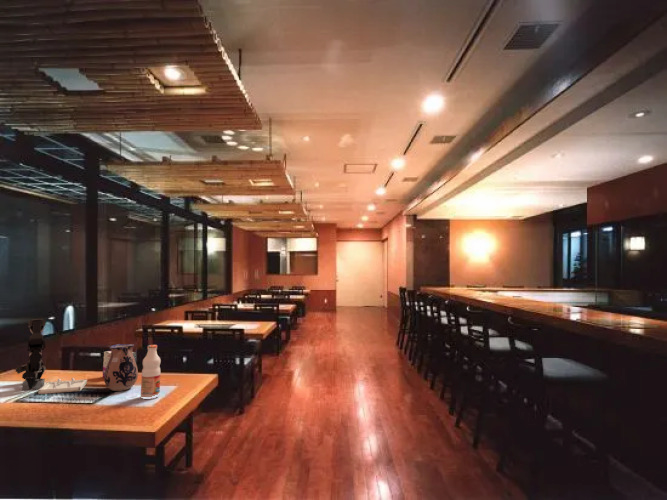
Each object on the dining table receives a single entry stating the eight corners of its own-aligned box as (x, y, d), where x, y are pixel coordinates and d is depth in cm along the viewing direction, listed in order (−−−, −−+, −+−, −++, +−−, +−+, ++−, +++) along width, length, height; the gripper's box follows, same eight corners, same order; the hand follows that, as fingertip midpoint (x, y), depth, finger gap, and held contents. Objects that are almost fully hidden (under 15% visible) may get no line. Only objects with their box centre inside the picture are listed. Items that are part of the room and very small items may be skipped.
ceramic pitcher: (111, 395, 220) (114, 349, 221) (95, 388, 232) (97, 345, 234) (143, 388, 234) (145, 345, 235) (125, 382, 246) (127, 341, 248)
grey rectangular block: (25, 388, 231) (26, 379, 231) (44, 387, 234) (44, 378, 234) (22, 390, 226) (22, 381, 226) (40, 389, 229) (41, 380, 229)
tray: (47, 385, 236) (48, 378, 236) (86, 383, 243) (87, 375, 243) (38, 394, 220) (38, 385, 220) (80, 390, 227) (80, 382, 227)
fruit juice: (139, 396, 219) (141, 344, 221) (157, 393, 224) (159, 343, 226) (141, 400, 211) (144, 347, 213) (160, 398, 217) (163, 346, 218)
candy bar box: (121, 377, 256) (122, 351, 257) (114, 379, 252) (115, 353, 253) (109, 375, 261) (110, 350, 262) (102, 377, 256) (103, 351, 257)
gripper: (24, 356, 237) (22, 383, 236) (11, 363, 219) (9, 392, 218) (46, 355, 241) (44, 382, 240) (36, 362, 223) (34, 390, 222)
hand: (33, 386), depth 230 cm, fingers open, 9 cm apart
